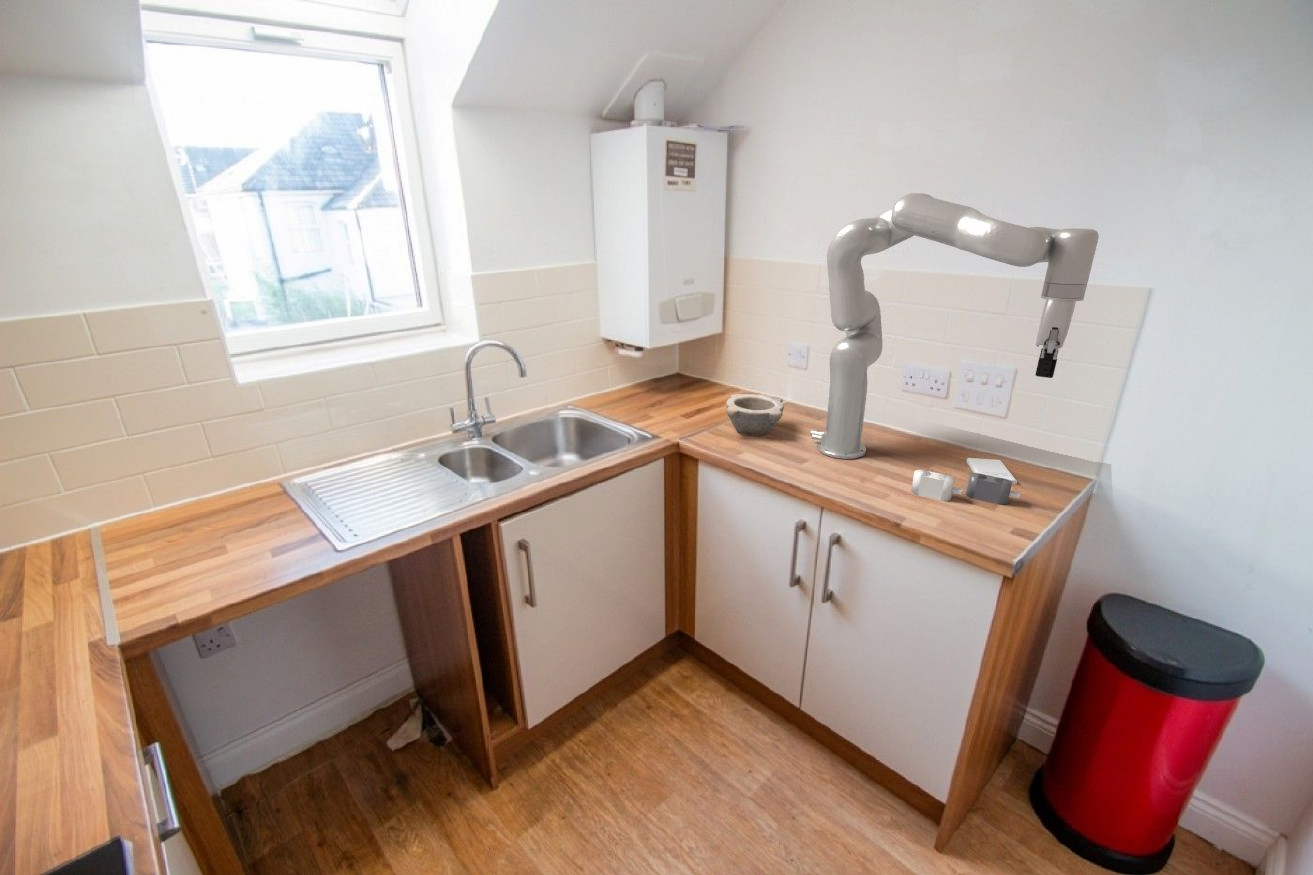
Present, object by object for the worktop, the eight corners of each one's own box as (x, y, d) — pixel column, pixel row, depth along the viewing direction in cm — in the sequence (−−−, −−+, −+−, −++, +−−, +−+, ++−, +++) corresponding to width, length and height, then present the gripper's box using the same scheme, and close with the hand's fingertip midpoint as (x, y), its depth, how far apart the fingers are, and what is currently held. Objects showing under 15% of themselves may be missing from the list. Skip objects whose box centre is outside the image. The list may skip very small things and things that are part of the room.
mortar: (780, 443, 171) (783, 413, 168) (721, 438, 175) (722, 408, 171) (783, 423, 186) (785, 395, 183) (728, 419, 190) (729, 391, 187)
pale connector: (909, 493, 141) (912, 473, 139) (913, 487, 144) (916, 468, 142) (958, 504, 136) (962, 484, 134) (961, 498, 138) (965, 478, 136)
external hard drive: (999, 465, 156) (1016, 486, 145) (966, 463, 158) (979, 483, 146) (1001, 459, 156) (1017, 480, 144) (967, 457, 157) (981, 477, 146)
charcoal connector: (964, 496, 139) (968, 477, 137) (967, 490, 142) (970, 471, 140) (1016, 508, 134) (1021, 488, 132) (1018, 502, 136) (1023, 482, 135)
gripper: (1044, 285, 133) (1027, 361, 139) (1040, 295, 120) (1022, 378, 126) (1085, 287, 129) (1066, 365, 136) (1085, 298, 116) (1064, 383, 122)
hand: (1044, 371), depth 131 cm, fingers open, 9 cm apart
